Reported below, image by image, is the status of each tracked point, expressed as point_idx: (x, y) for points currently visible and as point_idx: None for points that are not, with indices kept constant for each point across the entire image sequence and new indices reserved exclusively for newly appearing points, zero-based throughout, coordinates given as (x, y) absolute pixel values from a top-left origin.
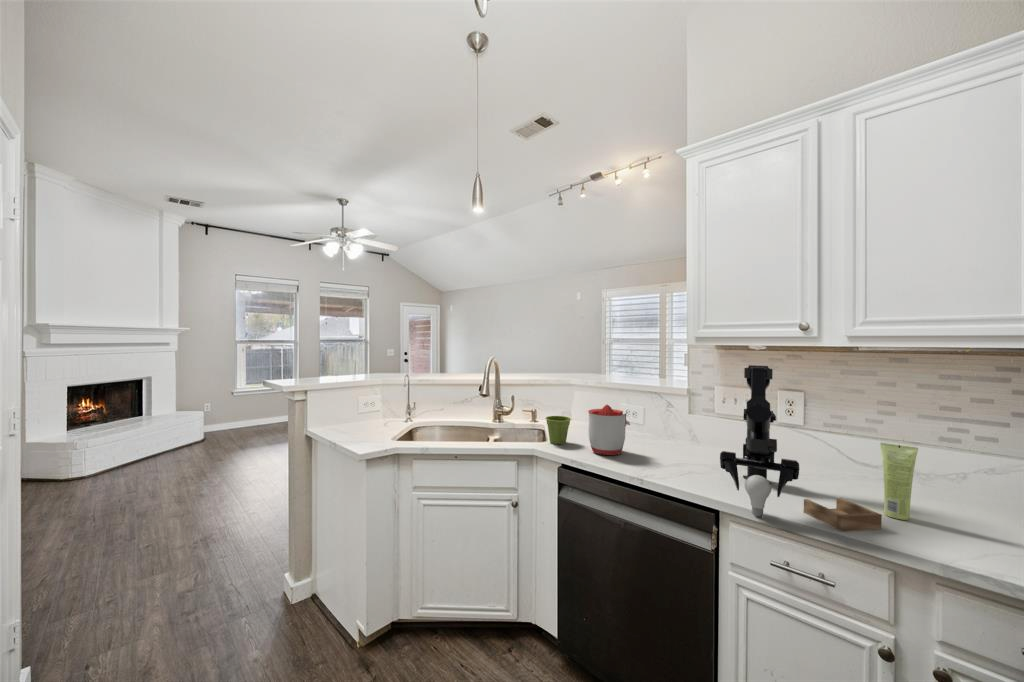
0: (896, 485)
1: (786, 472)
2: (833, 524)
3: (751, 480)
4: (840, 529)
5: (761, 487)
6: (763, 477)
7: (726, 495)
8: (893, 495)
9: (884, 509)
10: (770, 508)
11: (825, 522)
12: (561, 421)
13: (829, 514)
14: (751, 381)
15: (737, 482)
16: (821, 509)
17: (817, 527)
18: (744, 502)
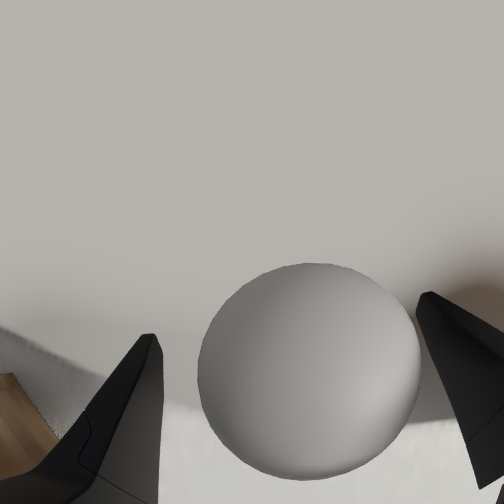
0: None
1: (8, 485)
2: (23, 401)
3: (380, 295)
4: (12, 377)
5: (270, 274)
6: (272, 409)
7: (417, 496)
8: None
9: None
10: (241, 488)
11: (48, 429)
12: None
13: (15, 422)
14: None
15: (457, 315)
16: (36, 456)
17: (63, 370)
18: (351, 482)
